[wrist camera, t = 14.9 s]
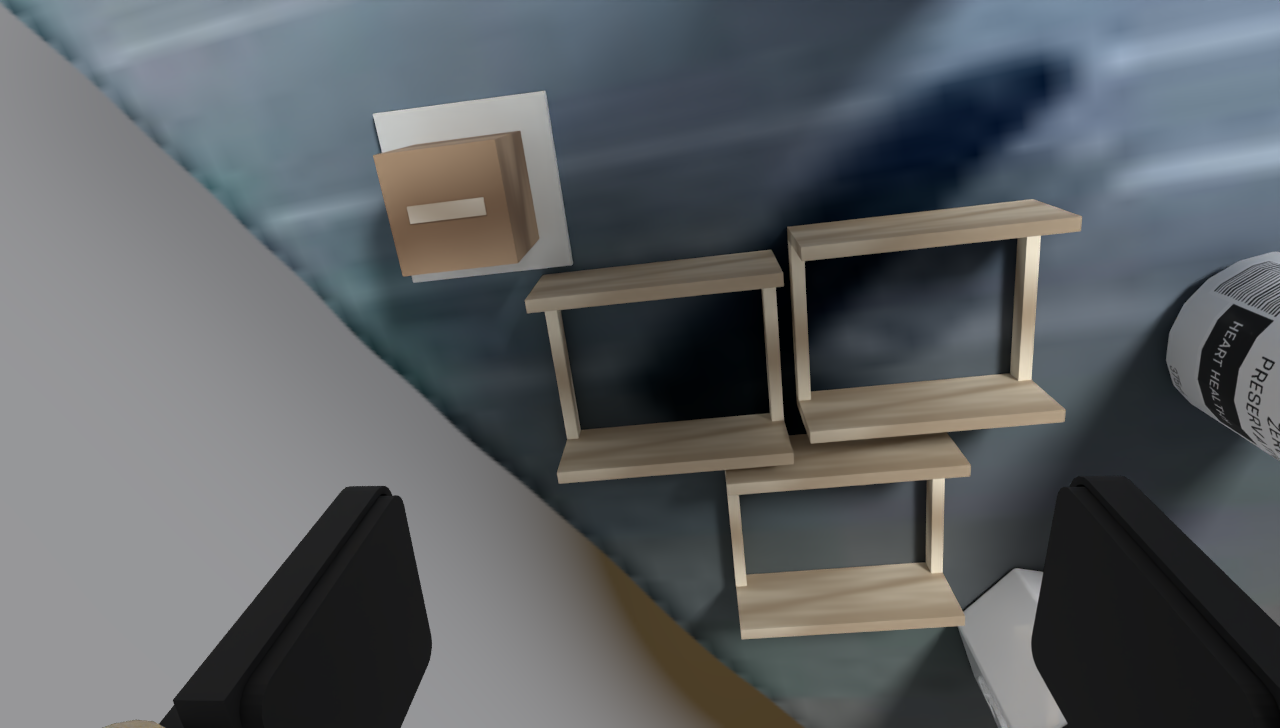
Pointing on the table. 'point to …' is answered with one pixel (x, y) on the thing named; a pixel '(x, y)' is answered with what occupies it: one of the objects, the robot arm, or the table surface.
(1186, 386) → the supplement can
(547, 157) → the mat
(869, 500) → the table surface
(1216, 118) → the table surface
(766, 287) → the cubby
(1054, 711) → the jar
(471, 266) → the letter cube
